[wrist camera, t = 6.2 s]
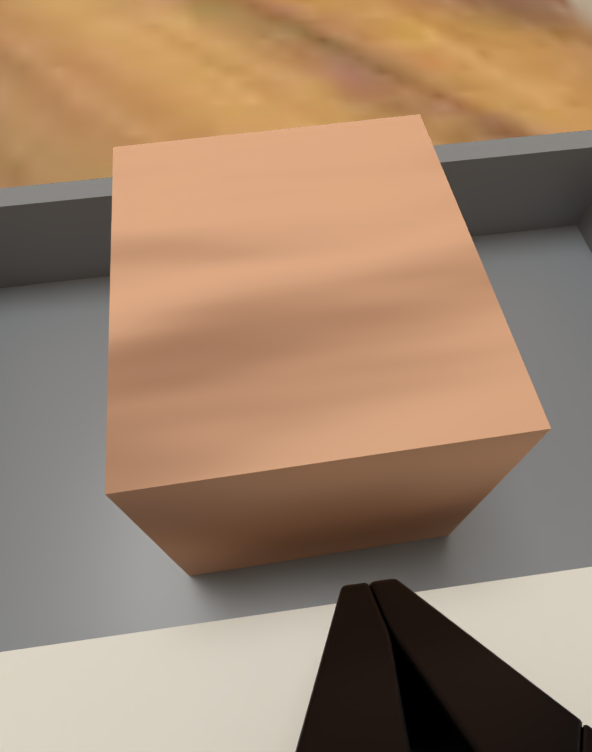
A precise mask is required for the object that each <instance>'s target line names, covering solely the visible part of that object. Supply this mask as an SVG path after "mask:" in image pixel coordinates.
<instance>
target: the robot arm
mask: <svg viewBox="0 0 592 752" xmlns="http://www.w3.org/2000/svg"><path fill="white" fill-rule="evenodd" d="M295 752H592V728H591V727H590V726H588V725H583V727H582V721H581V720H580V719H579V718H578V717H576V716H575V715H574V714H572V713H571V712H570V711H569V710H567V709H566V708H565V707H563V706H562V705H561V704H559V703H558V702H557V701H555V700H554V699H553V698H552V697H550V696H549V695H548V694H546V693H545V692H544V691H542V690H541V689H540V688H539V687H537V686H536V685H535V684H533V683H532V682H531V681H529V680H528V679H527V678H525V677H524V676H523V675H522V674H520V673H519V672H518V671H516V670H515V669H514V668H512V667H511V666H510V665H508V664H507V663H506V662H505V661H503V660H502V659H501V658H499V657H498V656H497V655H495V654H494V653H493V652H492V651H490V650H489V649H488V648H486V647H485V646H484V645H482V644H481V643H480V642H478V641H477V640H476V639H475V638H473V637H472V636H471V635H469V634H468V633H467V632H465V631H464V630H463V629H461V628H460V627H459V626H458V625H456V624H455V623H454V622H452V621H451V620H450V619H448V618H447V617H446V616H445V615H443V614H442V613H441V612H439V611H438V610H437V609H435V608H434V607H433V606H431V605H430V604H429V603H428V602H426V601H425V600H424V599H422V598H421V597H420V596H418V595H417V594H416V593H414V592H413V591H412V590H411V589H409V588H408V587H407V586H405V585H404V584H403V583H401V582H400V581H399V580H397V579H385V580H378V581H373V582H371V583H370V586H369V585H368V584H367V583H357V584H350V585H344V586H343V587H342V588H341V590H340V593H339V597H338V600H337V604H336V607H335V611H334V614H333V618H332V622H331V625H330V629H329V632H328V636H327V640H326V643H325V647H324V650H323V654H322V657H321V661H320V665H319V668H318V672H317V675H316V679H315V682H314V686H313V690H312V693H311V697H310V700H309V704H308V707H307V711H306V715H305V718H304V722H303V725H302V729H301V733H300V736H299V740H298V743H297V747H296V750H295Z"/></svg>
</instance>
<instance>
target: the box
mask: <svg viewBox="0 0 592 752" xmlns="http://www.w3.org/2000/svg"><path fill="white" fill-rule="evenodd" d="M433 147H434V149H435V152H436V154H437V156H438V159H439V161H440V164H441V166H442V168H443V171H444V173H445V176H446V178H447V180H448V183H449V185H450V188H451V190H452V192H453V195H454V197H455V199H456V202H457V204H458V207H459V209H460V211H461V214H462V216H463V219H464V221H465V223H466V226H467V228H468V231H469V233H470V235H471V238H472V240H473V243H474V245H475V247H476V250H477V252H478V255H479V257H480V259H481V262H482V264H483V267H484V269H485V271H486V274H487V276H488V278H489V281H490V283H491V286H492V288H493V290H494V293H495V295H496V298H497V300H498V302H499V305H500V307H501V310H502V312H503V314H504V317H505V319H506V322H507V324H508V326H509V329H510V331H511V334H512V336H513V338H514V341H515V343H516V346H517V348H518V350H519V353H520V355H521V357H522V360H523V362H524V365H525V367H526V369H527V372H528V374H529V377H530V379H531V381H532V384H533V386H534V389H535V391H536V393H537V396H538V398H539V401H540V403H541V405H542V408H543V410H544V413H545V415H546V417H547V420H548V422H549V425H550V427H551V429H550V430H549V431H548V432H547V433H546V435H545V436H544V437H543V438H542V439H541V440H540V441H539V442H538V443H537V444H536V445H535V446H534V447H533V448H532V449H531V450H530V451H529V452H528V453H527V454H526V455H525V456H524V457H523V458H522V460H521V461H520V462H519V463H518V464H517V465H516V466H515V467H514V468H513V469H512V470H511V471H510V472H509V473H508V474H507V475H506V476H505V477H504V478H503V479H502V480H501V481H500V482H499V483H498V484H497V486H496V487H495V488H494V489H493V490H492V491H491V492H490V493H489V494H488V495H487V496H486V497H485V498H484V499H483V500H482V501H481V502H480V503H479V504H478V505H477V506H476V507H475V508H474V509H473V511H472V512H471V513H470V514H469V515H468V516H467V517H466V518H465V519H464V520H463V521H462V522H461V523H460V524H459V525H458V526H457V527H456V528H455V529H454V530H453V531H452V532H451V533H450V534H449V535H446V536H440V537H434V538H427V539H421V540H415V541H408V542H402V543H396V544H389V545H383V546H377V547H370V548H364V549H358V550H351V551H345V552H339V553H332V554H326V555H320V556H314V557H307V558H301V559H295V560H288V561H282V562H276V563H269V564H263V565H257V566H250V567H244V568H238V569H231V570H225V571H219V572H212V573H206V574H200V575H193V576H189V575H188V574H187V573H186V572H185V571H184V570H183V569H182V568H181V567H179V566H178V565H177V564H176V563H175V562H174V561H173V560H172V559H171V558H170V557H169V556H168V555H167V554H166V553H165V552H164V551H163V550H162V549H161V548H160V547H159V546H158V545H157V544H156V543H155V542H154V541H153V540H152V539H151V538H150V537H149V536H148V535H146V534H145V533H144V532H143V531H142V530H141V529H140V528H139V527H138V526H137V525H136V524H135V523H134V522H133V521H132V520H131V519H130V518H129V517H128V516H127V515H126V514H125V513H124V512H123V511H122V510H121V509H120V508H119V507H118V506H117V505H116V504H115V503H113V502H112V501H111V500H110V499H109V498H108V497H107V496H106V495H105V473H106V431H107V389H108V347H109V305H110V264H111V222H112V180H113V177H111V178H101V179H91V180H81V181H71V182H61V183H51V184H40V185H30V186H20V187H10V188H0V652H4V651H11V650H18V649H25V648H32V647H39V646H46V645H53V644H60V643H67V642H73V641H80V640H87V639H94V638H101V637H108V636H115V635H122V634H129V633H136V632H143V631H150V630H157V629H163V628H170V627H177V626H184V625H191V624H198V623H205V622H212V621H219V620H226V619H233V618H240V617H247V616H253V615H260V614H267V613H274V612H281V611H288V610H295V609H302V608H309V607H316V606H323V605H330V604H337V600H338V597H339V593H340V590H341V588H342V587H343V586H344V585H350V584H357V583H367V584H368V585H369V586H370V583H371V582H373V581H378V580H385V579H397V580H399V581H400V582H401V583H403V584H404V585H405V586H407V587H408V588H409V589H411V590H412V591H413V592H420V591H427V590H434V589H440V588H447V587H454V586H461V585H468V584H475V583H482V582H489V581H496V580H503V579H510V578H517V577H524V576H531V575H537V574H544V573H551V572H558V571H565V570H572V569H579V568H586V567H592V130H587V131H577V132H567V133H557V134H547V135H536V136H526V137H516V138H506V139H496V140H486V141H476V142H466V143H455V144H445V145H435V146H433Z"/></svg>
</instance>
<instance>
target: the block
mask: <svg viewBox="0 0 592 752" xmlns="http://www.w3.org/2000/svg"><path fill="white" fill-rule="evenodd" d="M550 429H551V427H550V425H549V422H548V420H547V417H546V415H545V413H544V410H543V408H542V405H541V403H540V401H539V398H538V396H537V393H536V391H535V389H534V386H533V384H532V381H531V379H530V377H529V374H528V372H527V369H526V367H525V365H524V362H523V360H522V357H521V355H520V353H519V350H518V348H517V346H516V343H515V341H514V338H513V336H512V334H511V331H510V329H509V326H508V324H507V322H506V319H505V317H504V314H503V312H502V310H501V307H500V305H499V302H498V300H497V298H496V295H495V293H494V290H493V288H492V286H491V283H490V281H489V278H488V276H487V274H486V271H485V269H484V267H483V264H482V262H481V259H480V257H479V255H478V252H477V250H476V247H475V245H474V243H473V240H472V238H471V235H470V233H469V231H468V228H467V226H466V223H465V221H464V219H463V216H462V214H461V211H460V209H459V207H458V204H457V202H456V199H455V197H454V195H453V192H452V190H451V188H450V185H449V183H448V180H447V178H446V176H445V173H444V171H443V168H442V166H441V164H440V161H439V159H438V156H437V154H436V152H435V149H434V147H433V144H432V142H431V140H430V137H429V135H428V132H427V130H426V128H425V125H424V123H423V120H422V118H421V116H420V114H418V115H409V116H400V117H390V118H381V119H372V120H362V121H353V122H344V123H334V124H325V125H316V126H306V127H297V128H288V129H278V130H269V131H260V132H251V133H241V134H232V135H223V136H213V137H204V138H195V139H185V140H176V141H167V142H157V143H148V144H139V145H129V146H120V147H113V180H112V222H111V264H110V305H109V347H108V389H107V431H106V473H105V495H106V496H107V497H108V498H109V499H110V500H111V501H112V502H113V503H115V504H116V505H117V506H118V507H119V508H120V509H121V510H122V511H123V512H124V513H125V514H126V515H127V516H128V517H129V518H130V519H131V520H132V521H133V522H134V523H135V524H136V525H137V526H138V527H139V528H140V529H141V530H142V531H143V532H144V533H145V534H146V535H148V536H149V537H150V538H151V539H152V540H153V541H154V542H155V543H156V544H157V545H158V546H159V547H160V548H161V549H162V550H163V551H164V552H165V553H166V554H167V555H168V556H169V557H170V558H171V559H172V560H173V561H174V562H175V563H176V564H177V565H178V566H179V567H181V568H182V569H183V570H184V571H185V572H186V573H187V574H188V575H189V576H193V575H200V574H206V573H212V572H219V571H225V570H231V569H238V568H244V567H250V566H257V565H263V564H269V563H276V562H282V561H288V560H295V559H301V558H307V557H314V556H320V555H326V554H332V553H339V552H345V551H351V550H358V549H364V548H370V547H377V546H383V545H389V544H396V543H402V542H408V541H415V540H421V539H427V538H434V537H440V536H446V535H449V534H450V533H451V532H452V531H453V530H454V529H455V528H456V527H457V526H458V525H459V524H460V523H461V522H462V521H463V520H464V519H465V518H466V517H467V516H468V515H469V514H470V513H471V512H472V511H473V509H474V508H475V507H476V506H477V505H478V504H479V503H480V502H481V501H482V500H483V499H484V498H485V497H486V496H487V495H488V494H489V493H490V492H491V491H492V490H493V489H494V488H495V487H496V486H497V484H498V483H499V482H500V481H501V480H502V479H503V478H504V477H505V476H506V475H507V474H508V473H509V472H510V471H511V470H512V469H513V468H514V467H515V466H516V465H517V464H518V463H519V462H520V461H521V460H522V458H523V457H524V456H525V455H526V454H527V453H528V452H529V451H530V450H531V449H532V448H533V447H534V446H535V445H536V444H537V443H538V442H539V441H540V440H541V439H542V438H543V437H544V436H545V435H546V433H547V432H548V431H549V430H550Z"/></svg>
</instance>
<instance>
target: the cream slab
mask: <svg viewBox="0 0 592 752" xmlns="http://www.w3.org/2000/svg"><path fill="white" fill-rule="evenodd" d="M414 593H416V594H417V595H418V596H420V597H421V598H422V599H424V600H425V601H426V602H428V603H429V604H430V605H431V606H433V607H434V608H435V609H437V610H438V611H439V612H441V613H442V614H443V615H445V616H446V617H447V618H448V619H450V620H451V621H452V622H454V623H455V624H456V625H458V626H459V627H460V628H461V629H463V630H464V631H465V632H467V633H468V634H469V635H471V636H472V637H473V638H475V639H476V640H477V641H478V642H480V643H481V644H482V645H484V646H485V647H486V648H488V649H489V650H490V651H492V652H493V653H494V654H495V655H497V656H498V657H499V658H501V659H502V660H503V661H505V662H506V663H507V664H508V665H510V666H511V667H512V668H514V669H515V670H516V671H518V672H519V673H520V674H522V675H523V676H524V677H525V678H527V679H528V680H529V681H531V682H532V683H533V684H535V685H536V686H537V687H539V688H540V689H541V690H542V691H544V692H545V693H546V694H548V695H549V696H550V697H552V698H553V699H554V700H555V701H557V702H558V703H559V704H561V705H562V706H563V707H565V708H566V709H567V710H569V711H570V712H571V713H572V714H574V715H575V716H576V717H578V718H579V719H580V720H581V721H582V727H583V725H588V726H590V727H591V728H592V567H586V568H579V569H572V570H565V571H558V572H551V573H544V574H537V575H531V576H524V577H517V578H510V579H503V580H496V581H489V582H482V583H475V584H468V585H461V586H454V587H447V588H440V589H434V590H427V591H420V592H414ZM335 607H336V604H330V605H323V606H316V607H309V608H302V609H295V610H288V611H281V612H274V613H267V614H260V615H253V616H247V617H240V618H233V619H226V620H219V621H212V622H205V623H198V624H191V625H184V626H177V627H170V628H163V629H157V630H150V631H143V632H136V633H129V634H122V635H115V636H108V637H101V638H94V639H87V640H80V641H73V642H67V643H60V644H53V645H46V646H39V647H32V648H25V649H18V650H11V651H4V652H0V752H295V750H296V747H297V743H298V740H299V736H300V733H301V729H302V725H303V722H304V718H305V715H306V711H307V707H308V704H309V700H310V697H311V693H312V690H313V686H314V682H315V679H316V675H317V672H318V668H319V665H320V661H321V657H322V654H323V650H324V647H325V643H326V640H327V636H328V632H329V629H330V625H331V622H332V618H333V614H334V611H335Z"/></svg>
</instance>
